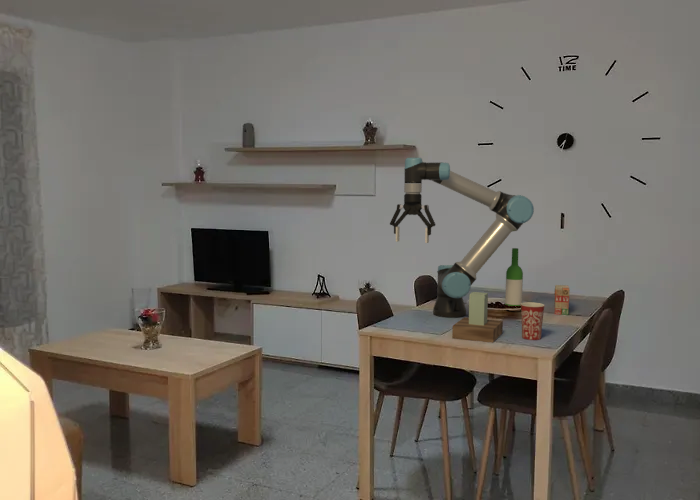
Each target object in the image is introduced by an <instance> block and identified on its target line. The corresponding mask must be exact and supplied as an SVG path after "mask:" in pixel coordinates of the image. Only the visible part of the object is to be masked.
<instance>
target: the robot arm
mask: <svg viewBox="0 0 700 500" xmlns="http://www.w3.org/2000/svg"><path fill="white" fill-rule="evenodd" d="M423 180H424V181H432V182H434V183H436V184H438V185H441V186H443V187H445V188H447V189H450V190H451V191H454V192H456V193H458V194H459V195H462V196H464V197H467V198H469V199H471V200H473V201H475V202H476V203H477V202H478V203H480V204H482V205H483V206H486V207H488V209H489V211H491V212H494V213H495V219H494V221H493V222H492V224H491V225H490V226H489V227H488V228H487V230H486V231H485V232H484V233H483V234H482V235H481V236H480V237H479V239H478V240H477V241H476V242H475V244H474V245H473V247H472V248H471V249H470V250H469V251H468V252H467V254H465V256H464V257H463V258H462V259H461V261H455V262H454V263H453V264H451V265H449V264H444V265H443V264H442V265H441V264H440V265H438V267H437V271H436V273H437V284H436V285H437V289H436V291H437V293H436V296H437V297H436V300H435V303H434V305H433V309H432V314H433V315H435V316H438V317H442V318H444V317H445V318H460V317H465V316H467V309H466V306H465V305H466V304H465V302H464V297H465V296H466V295H468V293H469V292H470V290H471V286H472V285H473V284H474V282H475V281H476V280H477V274H478V272H479V271H480V270H481V269H482V268H483V266H484V265H485V264H486V263H487V262H488V260H490V258H491V257H492V256H493V254H494V253H495V252H496V251H497V249H498V248H500V246H501V245H502V244H503V243H504V241H505V240H506V239H507V238H508V236H509V235H511V233H512V232H517V231H519V229H520V228H521V227H522V226H523V225H524V224H526V223H528V221H530V220H531V219H532V217H533V215H534V211H535V210H534V209H535V208H534V204H533V201H531V200H530V199H529V198H528V197H527V196H524V195H522V194H521V195H520V194H517V195H515V194H508V193H506V192H503V191H500V190H498V191H495V190H494V189H490V188H488V187H487V186H484V185H482V184H481V183H477V182H476V181H473V180H471V179H469V178H467V177H464V176H462V175H461V174H458V173H457V172H454V171H452V170H451V166H450V163H449V162H440V161H439V162H425V161H423V158H422V157H406V158H405V161H404V186H403V187H404V190H403V191H404V193H405V194H404V195H403V198H404V199H403V204H400V203H399V204H397V205H396V210H395V212H394V214H393V216H392V218H391V220H390V222H389V225H390V226H392V227H393V234H394V235H395V242H400V234H401V233H400V224H401V223H402V221H403V220H404V219H405V218H406V217H407V216H412V215H413V216H416V215H417V216H418V217H419V218H420V219H421V221H422V222H423V224H424V225H425V226H426V227H425V229H424V230H425V232H424V233H425V237H424V238H425V239H424V240H425V244H429V241H430V236H431V235H432V228H433V227H435V226H436V222H435V220H434V218H433V216H432V213H431V212H430V208H429V207H430V206H429V205H428V204H424V205H422V198H423V197H422V192H423V191H422V190H423V189H422V187H423V185H422V184H423V183H422V182H423ZM402 210H404V211H403V212H402V213H401V211H402ZM422 210H423V211H424V212H425V214H426V215H424V214H423V212H422ZM400 213H401V215H400ZM399 215H400V217H399ZM398 217H399V218H398ZM426 217H427V218H426Z"/></svg>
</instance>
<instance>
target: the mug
mask: <svg viewBox="0 0 700 500" xmlns="http://www.w3.org/2000/svg"><path fill="white" fill-rule="evenodd" d="M544 311H545V304H543V303H541V302H540V303H539V302H533V301H532V302H531V301H528V302H522V303H521V311H520V313H521V337H522V339H524V340H528V341H540V340H541V338H542V330H543V321H544Z"/></svg>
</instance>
